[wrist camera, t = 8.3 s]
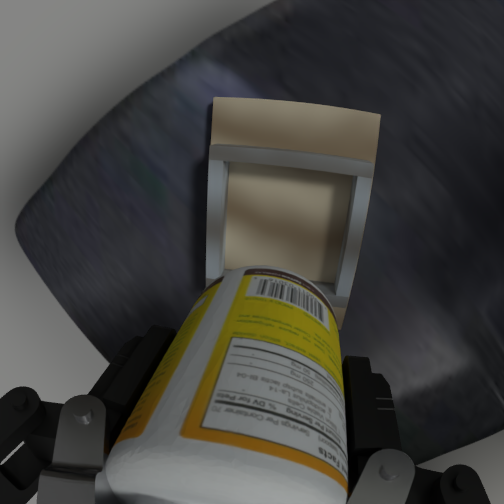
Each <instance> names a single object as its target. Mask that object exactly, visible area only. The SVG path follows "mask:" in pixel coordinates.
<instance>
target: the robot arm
mask: <svg viewBox="0 0 504 504" xmlns="http://www.w3.org/2000/svg"><path fill="white" fill-rule="evenodd" d="M176 335H177V334H176V330H175V329H171V328H166V327H162V326H157V325H153V326H152V327H151V328H150V329H149V331H148V332H147V334H146V335H145V336H144V337H140V336H136V337H135V338H133V339H132V340H130V341H128V342H127V343H125V344H124V346H123V347H122V348H121V350H120V351H119V352H118V355H117V356H115V358H114V359H113V361H112V363H111V364H110V365H109V366H108V367H107V369H106V370H105V371H104V373H103V374H102V375H101V377H100V378H99V380H98V381H97V382H96V384H95V385H94V387H93V388H92V389H91V391H90V392H89V393H88V394H87V395H78V396H74V397H73V398H70V399H69V400H68V401H67V402H66V403H65V404H60V403H52V402H45V401H41V400H40V398H39V396H38V394H37V392H36V391H35V390H33V389H32V388H29V387H16V388H14V389H12V390H10V391H9V392H8V393H6V394H5V395H4V396H3V397H2V398H1V399H0V463H1V462H2V461H3V459H5V458H6V456H8V455H9V454H10V453H11V452H12V451H13V450H14V449H15V448H16V447H17V446H18V445H19V444H20V443H21V442H22V441H24V444H23V445H22V446H21V447H20V448H19V449H18V450H17V451H16V452H15V453H14V454H13V455H12V456H11V457H10V458H9V459H8V460H7V461H6V462H5V463H4V464H2V465H0V504H26V503H27V502H28V501H29V500H30V499H31V498H32V497H33V496H34V495H35V493H36V492H37V491H38V495H37V504H122V503H121V502H120V501H119V500H118V498H117V497H116V496H115V494H114V492H113V491H112V489H111V487H110V485H109V482H108V480H107V476H106V468H105V464H106V461H107V458H108V456H109V454H110V452H111V449H112V448H113V446H114V444H115V442H116V440H117V438H118V437H119V435H120V433H121V431H122V430H123V428H124V426H125V424H126V422H127V420H128V418H129V417H130V415H131V413H132V411H133V410H134V408H135V406H136V404H137V403H138V401H139V399H140V398H141V396H142V394H143V392H144V391H145V389H146V387H147V385H148V383H149V382H150V380H151V378H152V377H153V375H154V373H155V371H156V369H157V367H158V366H159V364H160V362H161V361H162V359H163V357H164V356H165V354H166V352H167V350H168V348H169V347H170V345H171V343H172V342H173V340H174V338H175V337H176ZM342 375H343V386H344V398H345V416H346V434H347V457H348V490H349V497H348V500H347V503H346V504H491V503H490V501H489V499H488V496H487V494H486V492H485V489H484V487H483V485H482V482H481V480H480V478H479V476H478V474H477V473H476V472H475V471H474V470H473V469H472V468H471V467H468V466H466V465H454V466H451V467H449V468H448V469H447V470H446V471H445V472H444V473H441V472H436V471H431V470H427V469H422V468H419V467H417V466H415V465H414V464H413V462H412V460H411V459H410V458H409V456H407V455H406V454H405V453H403V451H402V448H401V442H400V437H399V431H398V425H397V420H396V414H395V411H394V404H393V400H392V394H391V390H390V385H389V384H388V382H387V381H386V380H385V378H384V377H383V375H382V374H377V373H372V372H371V366H370V361H369V358H368V357H357V356H345V358H344V361H343V364H342Z"/></svg>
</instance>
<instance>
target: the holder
mask: <svg viewBox="0 0 504 504" xmlns="http://www.w3.org/2000/svg"><path fill="white" fill-rule="evenodd" d="M380 116H381V115H380V114H375V113H369V112H364V111H358V110H352V109H346V108H340V107H333V106H325V105H318V104H310V103H301V102H291V101H280V100H267V99H251V98H227V97H214V99H213V115H212V132H211V145H210V147H209V169H208V196H207V233H206V287H207V286H208V285H209V284H210V283H211V282H212V281H214V280H215V279H216V278H218V277H219V276H221V275H223V274H225V273H227V272H229V271H232V270H234V269H238V268H241V267H246V266H254V265H265V266H274V267H279V268H283V269H287V270H290V271H292V272H295V273H297V274H299V275H301V276H303V277H305V278H306V279H308V280H309V281H311V282H312V283H313V284H314V285H315V286H317V287H318V288H319V289H320V290H321V291H322V293H323V294H324V295H325V296H326V298H327V299H328V301H329V302H330V304H331V306H332V308H333V311H334V313H335V317H336V321H337V326H338V330H341V327H342V323H343V320H344V316H345V312H346V308H347V304H348V300H349V296H350V292H351V288H352V284H353V279H354V275H355V270H356V266H357V261H358V257H359V252H360V247H361V242H362V237H363V232H364V227H365V221H366V216H367V210H368V205H369V199H370V193H371V186H372V180H373V173H374V166H375V159H376V151H377V143H378V135H379V126H380Z"/></svg>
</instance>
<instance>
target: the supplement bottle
mask: <svg viewBox="0 0 504 504" xmlns="http://www.w3.org/2000/svg"><path fill="white" fill-rule="evenodd" d="M105 468H106V476H107V480H108V482H109V485H110V487H111V489H112V491H113V492H114V494H115V496H116V497H117V498H118V500H119V501H120V502H121V503H122V504H346V503H347V500H348V497H349V490H348V457H347V434H346V416H345V398H344V386H343V375H342V363H341V353H340V344H339V334H338V326H337V321H336V317H335V313H334V311H333V308H332V306H331V304H330V302H329V301H328V299H327V298H326V296H325V295H324V294H323V293H322V291H321V290H320V289H319V288H318V287H317V286H315V285H314V284H313V283H312V282H311V281H309V280H308V279H306V278H305V277H303V276H301V275H299V274H297V273H295V272H292V271H290V270H287V269H283V268H279V267H274V266H265V265H254V266H246V267H241V268H238V269H234V270H232V271H229V272H227V273H225V274H223V275H221V276H219V277H218V278H216V279H215V280H214V281H212V282H211V283H210V284H209V285H208V286H207V287H206V288H205V289H204V291H203V292H202V293H201V295H200V296H199V298H198V299H197V301H196V303H195V304H194V306H193V307H192V309H191V311H190V313H189V314H188V316H187V318H186V320H185V321H184V323H183V325H182V326H181V328H180V330H179V331H178V333H177V335H176V337H175V338H174V340H173V342H172V343H171V345H170V347H169V348H168V350H167V352H166V354H165V356H164V357H163V359H162V361H161V362H160V364H159V366H158V367H157V369H156V371H155V373H154V375H153V377H152V378H151V380H150V382H149V383H148V385H147V387H146V389H145V391H144V392H143V394H142V396H141V398H140V399H139V401H138V403H137V404H136V406H135V408H134V410H133V411H132V413H131V415H130V417H129V418H128V420H127V422H126V424H125V426H124V428H123V430H122V431H121V433H120V435H119V437H118V438H117V440H116V442H115V444H114V446H113V448H112V449H111V452H110V454H109V456H108V458H107V461H106V464H105Z"/></svg>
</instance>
